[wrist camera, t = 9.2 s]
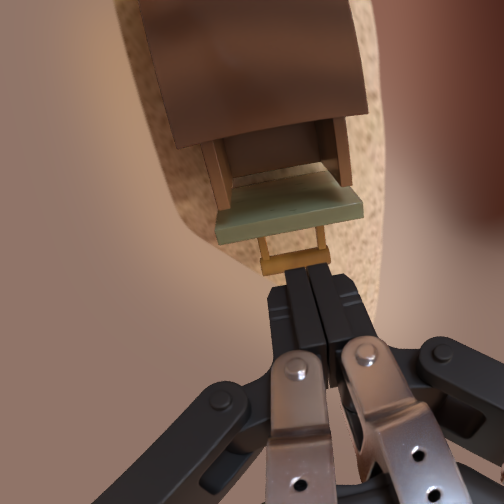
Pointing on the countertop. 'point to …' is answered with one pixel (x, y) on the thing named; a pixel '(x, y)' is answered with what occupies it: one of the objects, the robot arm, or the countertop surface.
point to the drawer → (283, 187)
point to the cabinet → (252, 64)
